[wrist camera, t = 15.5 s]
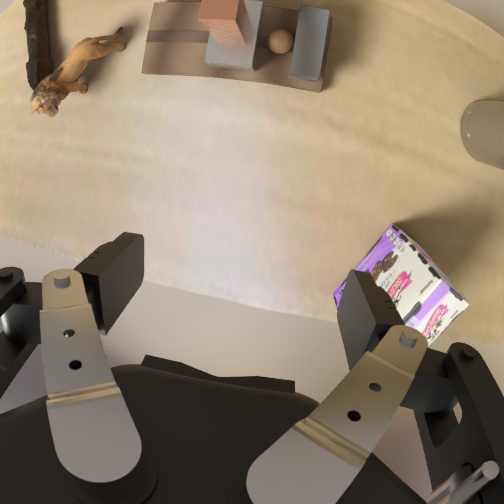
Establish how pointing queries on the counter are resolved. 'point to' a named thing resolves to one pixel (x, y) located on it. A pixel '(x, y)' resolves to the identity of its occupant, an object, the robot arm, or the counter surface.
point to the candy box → (412, 283)
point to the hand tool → (37, 42)
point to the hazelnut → (279, 41)
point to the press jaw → (232, 32)
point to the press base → (267, 62)
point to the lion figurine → (70, 74)
